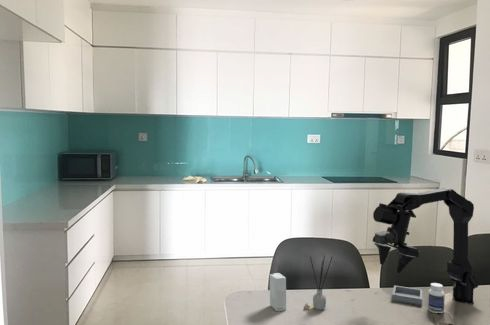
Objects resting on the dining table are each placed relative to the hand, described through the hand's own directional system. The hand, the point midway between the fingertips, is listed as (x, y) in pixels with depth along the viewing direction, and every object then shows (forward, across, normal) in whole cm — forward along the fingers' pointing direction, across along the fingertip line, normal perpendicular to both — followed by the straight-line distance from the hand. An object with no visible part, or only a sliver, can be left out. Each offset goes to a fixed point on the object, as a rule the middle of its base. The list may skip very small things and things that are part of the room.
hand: (389, 268), depth 144 cm
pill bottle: (+11, +7, +19) cm, 23 cm away
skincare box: (+24, -13, -34) cm, 44 cm away
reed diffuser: (+21, -7, -20) cm, 30 cm away
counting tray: (+12, -6, +17) cm, 22 cm away
